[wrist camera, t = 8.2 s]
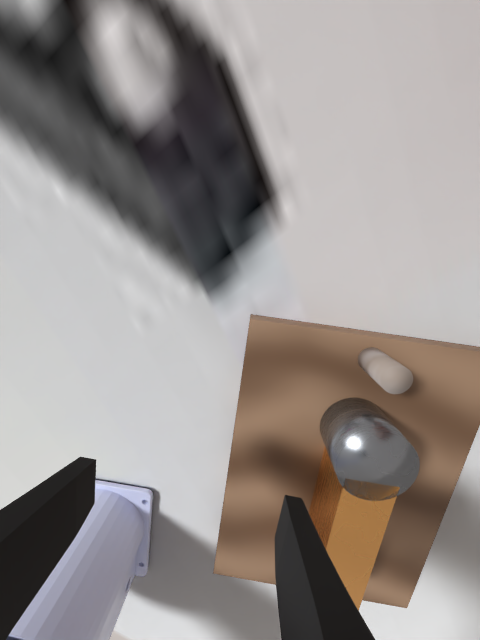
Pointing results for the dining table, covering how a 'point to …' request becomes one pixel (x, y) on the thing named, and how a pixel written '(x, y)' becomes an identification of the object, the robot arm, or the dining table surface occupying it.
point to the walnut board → (307, 444)
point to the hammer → (359, 486)
